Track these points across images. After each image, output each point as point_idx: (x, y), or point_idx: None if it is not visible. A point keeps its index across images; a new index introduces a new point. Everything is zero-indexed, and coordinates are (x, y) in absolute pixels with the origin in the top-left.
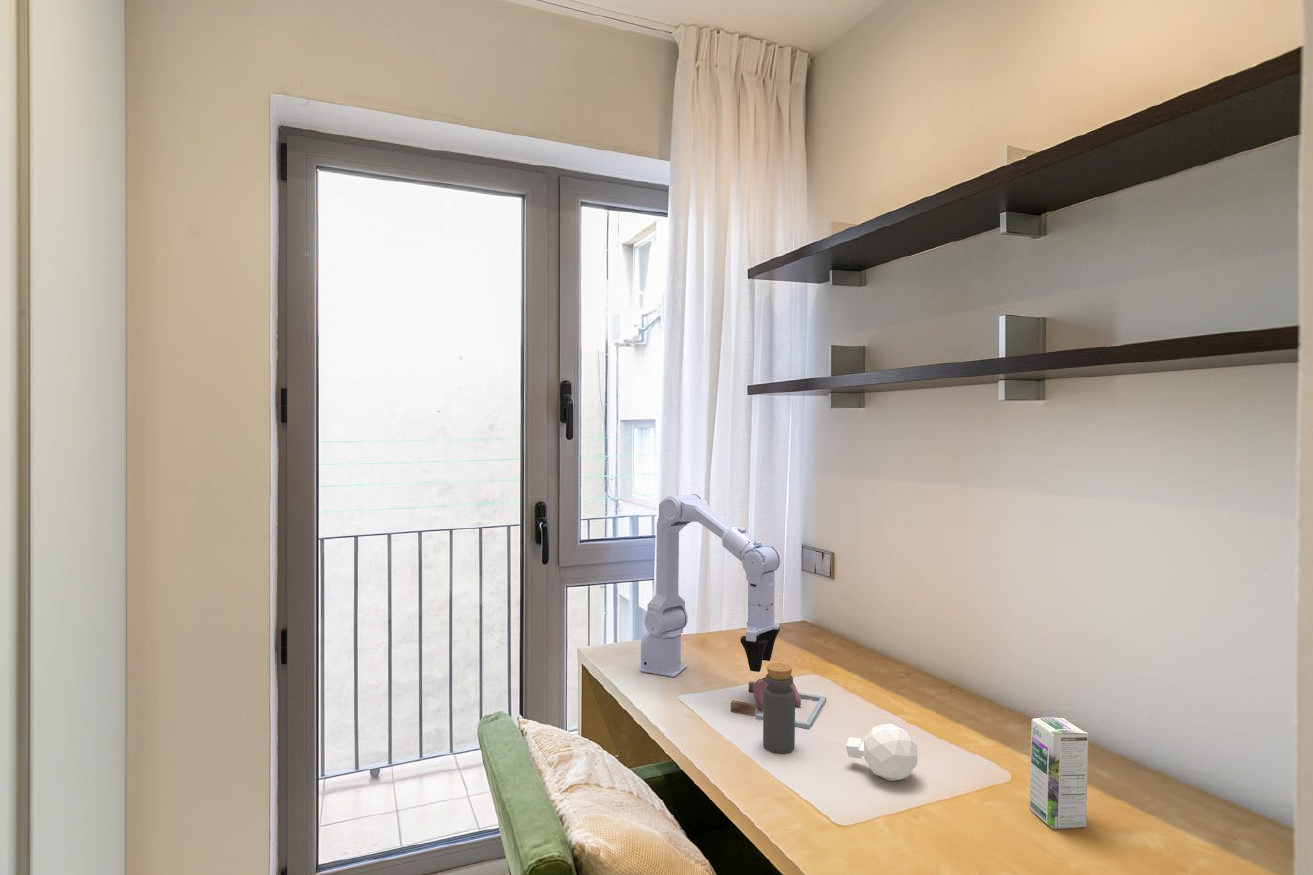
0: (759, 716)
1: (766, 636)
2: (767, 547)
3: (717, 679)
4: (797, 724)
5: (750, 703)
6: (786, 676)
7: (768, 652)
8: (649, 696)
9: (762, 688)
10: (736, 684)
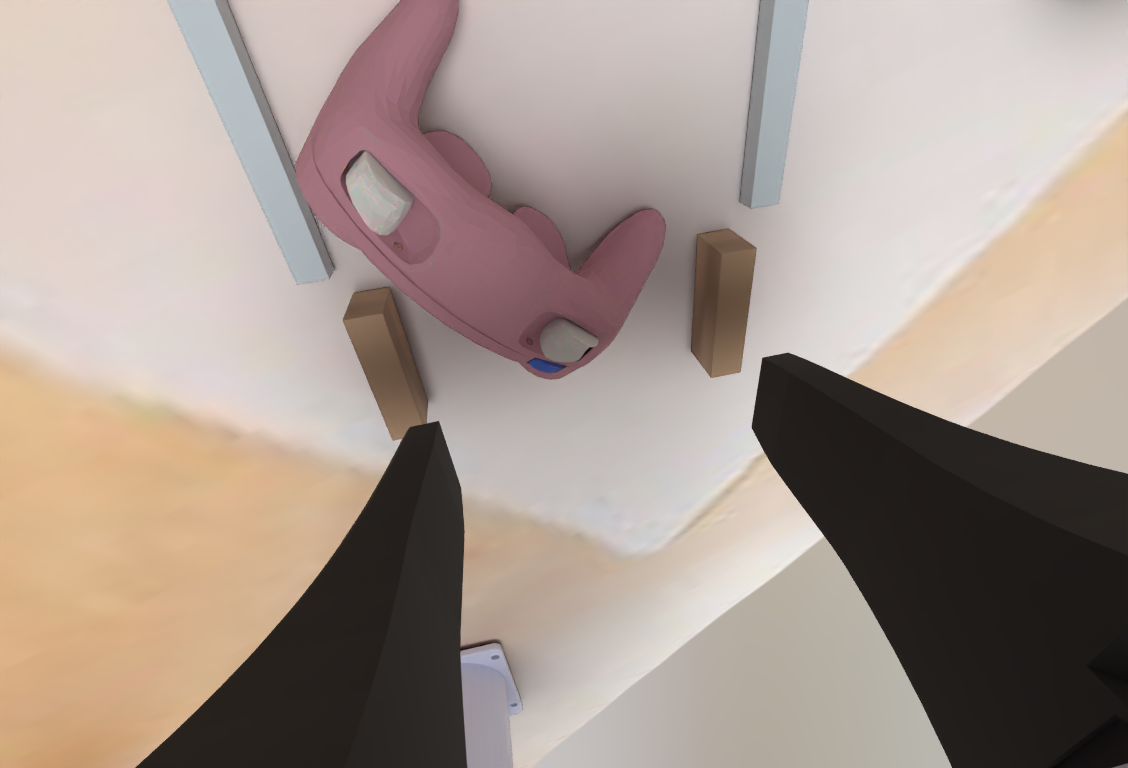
0: (778, 181)
1: (431, 731)
2: None
3: None
4: None
5: (724, 282)
6: None
7: (433, 498)
8: (694, 595)
9: (603, 296)
10: None
